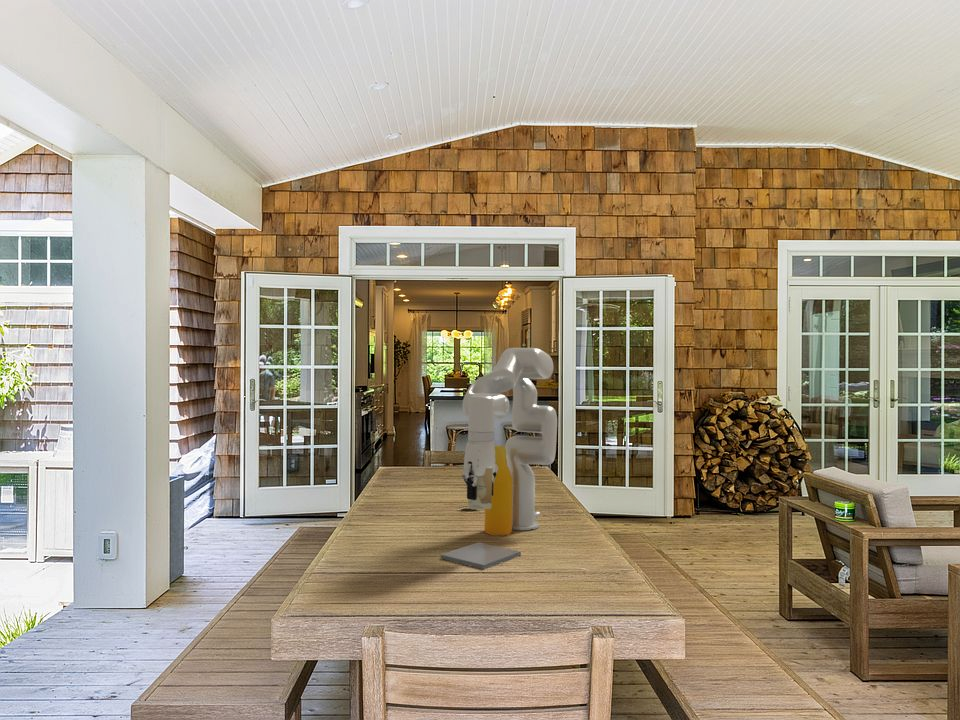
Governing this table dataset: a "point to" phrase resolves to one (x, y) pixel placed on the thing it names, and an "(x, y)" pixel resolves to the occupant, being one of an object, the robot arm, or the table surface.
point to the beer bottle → (500, 498)
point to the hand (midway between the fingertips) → (480, 496)
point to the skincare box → (483, 491)
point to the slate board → (480, 555)
